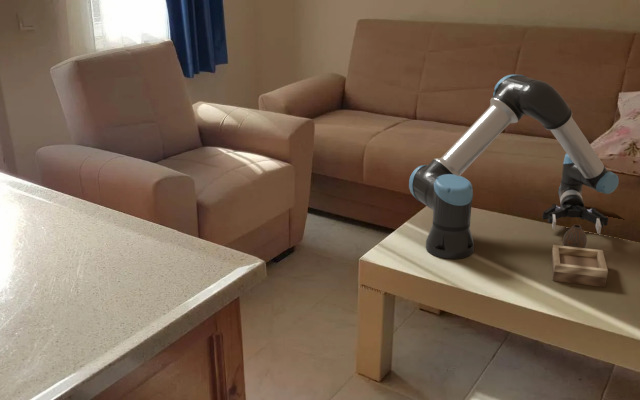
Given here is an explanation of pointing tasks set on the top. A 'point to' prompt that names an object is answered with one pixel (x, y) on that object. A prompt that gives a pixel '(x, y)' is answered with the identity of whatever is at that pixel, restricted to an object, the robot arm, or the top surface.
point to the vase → (575, 237)
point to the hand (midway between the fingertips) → (576, 227)
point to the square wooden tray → (578, 265)
